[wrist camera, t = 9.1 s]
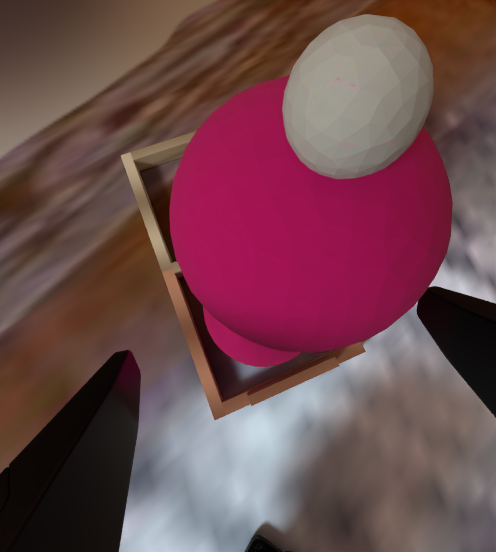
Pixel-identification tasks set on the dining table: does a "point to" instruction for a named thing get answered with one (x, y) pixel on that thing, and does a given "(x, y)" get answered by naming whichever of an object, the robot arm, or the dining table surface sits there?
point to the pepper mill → (316, 198)
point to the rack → (171, 275)
